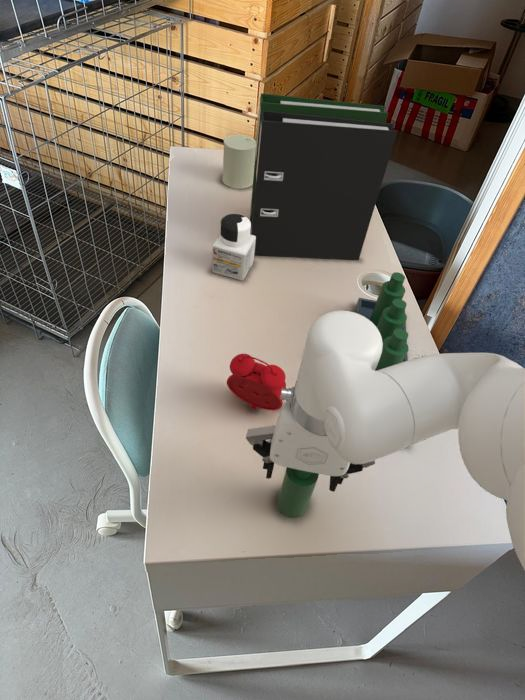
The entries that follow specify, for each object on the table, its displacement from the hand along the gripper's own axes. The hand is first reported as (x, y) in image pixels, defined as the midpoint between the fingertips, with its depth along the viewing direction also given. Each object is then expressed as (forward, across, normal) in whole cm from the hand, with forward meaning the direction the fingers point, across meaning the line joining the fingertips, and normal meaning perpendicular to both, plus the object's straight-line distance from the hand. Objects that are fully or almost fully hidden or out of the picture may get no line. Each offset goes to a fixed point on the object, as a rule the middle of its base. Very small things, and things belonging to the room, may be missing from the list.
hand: (301, 475), depth 68 cm
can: (+10, -28, +95) cm, 99 cm away
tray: (+9, +14, +32) cm, 36 cm away
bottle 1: (+8, +14, +43) cm, 46 cm away
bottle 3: (+8, +14, +27) cm, 32 cm away
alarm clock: (+9, -9, +17) cm, 21 cm away
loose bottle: (+9, 0, 0) cm, 9 cm away
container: (+10, -21, +55) cm, 60 cm away
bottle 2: (+8, +14, +35) cm, 39 cm away
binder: (+10, -6, +70) cm, 71 cm away
